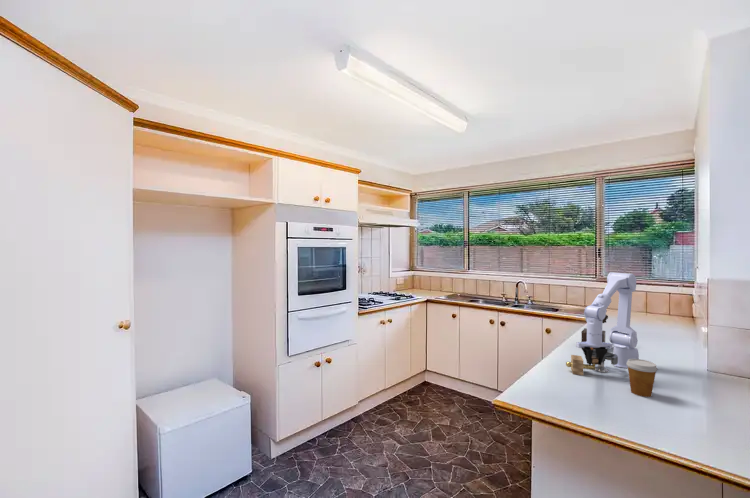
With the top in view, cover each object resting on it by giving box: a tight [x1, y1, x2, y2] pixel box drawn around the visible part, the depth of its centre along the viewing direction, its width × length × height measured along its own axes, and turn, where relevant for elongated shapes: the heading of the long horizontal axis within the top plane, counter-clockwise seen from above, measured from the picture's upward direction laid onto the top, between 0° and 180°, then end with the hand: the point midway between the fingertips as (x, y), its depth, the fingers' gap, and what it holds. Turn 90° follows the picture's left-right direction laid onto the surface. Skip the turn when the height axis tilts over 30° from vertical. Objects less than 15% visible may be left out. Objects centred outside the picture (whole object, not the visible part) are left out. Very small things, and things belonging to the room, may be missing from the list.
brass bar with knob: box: [565, 356, 599, 371], centre depth 154 cm, size 13×4×6 cm, turn 66°
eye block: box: [570, 354, 584, 376], centre depth 155 cm, size 4×7×6 cm, turn 156°
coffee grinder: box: [580, 314, 609, 350], centre depth 193 cm, size 16×11×18 cm
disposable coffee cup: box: [626, 359, 659, 398], centre depth 133 cm, size 10×10×12 cm
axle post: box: [594, 361, 610, 374], centre depth 158 cm, size 6×6×4 cm
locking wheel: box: [584, 348, 618, 366], centre depth 158 cm, size 10×12×5 cm
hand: (593, 364), depth 152 cm, fingers closed on brass bar with knob, 4 cm apart
